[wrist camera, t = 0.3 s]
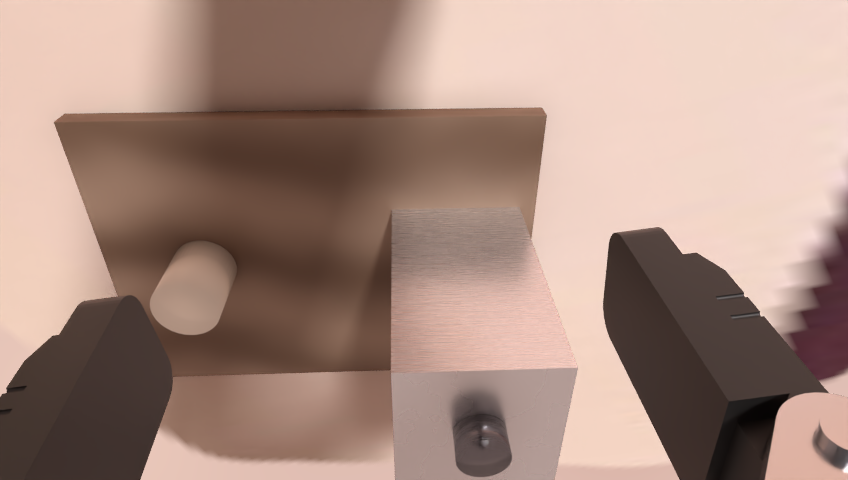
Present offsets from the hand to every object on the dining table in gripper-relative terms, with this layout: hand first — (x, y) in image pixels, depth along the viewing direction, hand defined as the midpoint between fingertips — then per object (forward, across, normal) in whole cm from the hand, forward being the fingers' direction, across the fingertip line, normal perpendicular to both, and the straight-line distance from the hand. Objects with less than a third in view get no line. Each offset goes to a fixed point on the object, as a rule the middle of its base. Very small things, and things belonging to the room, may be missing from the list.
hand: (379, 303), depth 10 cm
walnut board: (+18, +4, +11) cm, 22 cm away
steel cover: (+17, -2, +12) cm, 21 cm away
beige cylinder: (+17, +10, +11) cm, 23 cm away
